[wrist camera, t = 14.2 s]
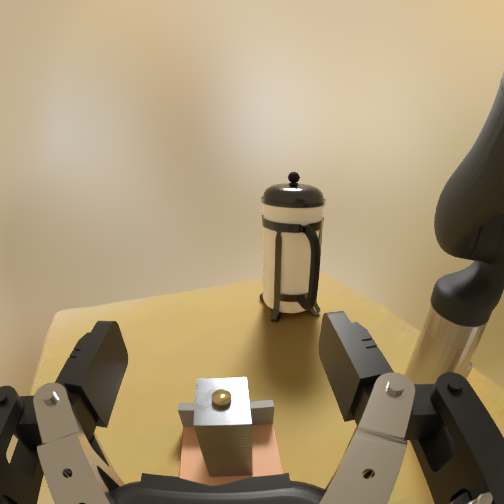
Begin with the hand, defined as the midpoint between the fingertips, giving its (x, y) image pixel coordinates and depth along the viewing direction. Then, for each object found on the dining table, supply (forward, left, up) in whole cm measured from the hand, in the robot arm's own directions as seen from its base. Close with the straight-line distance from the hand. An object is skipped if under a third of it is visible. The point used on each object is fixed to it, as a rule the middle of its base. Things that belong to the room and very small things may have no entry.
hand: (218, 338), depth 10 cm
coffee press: (+2, -47, -28) cm, 55 cm away
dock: (+4, -8, -27) cm, 29 cm away
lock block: (+4, -8, -26) cm, 28 cm away
